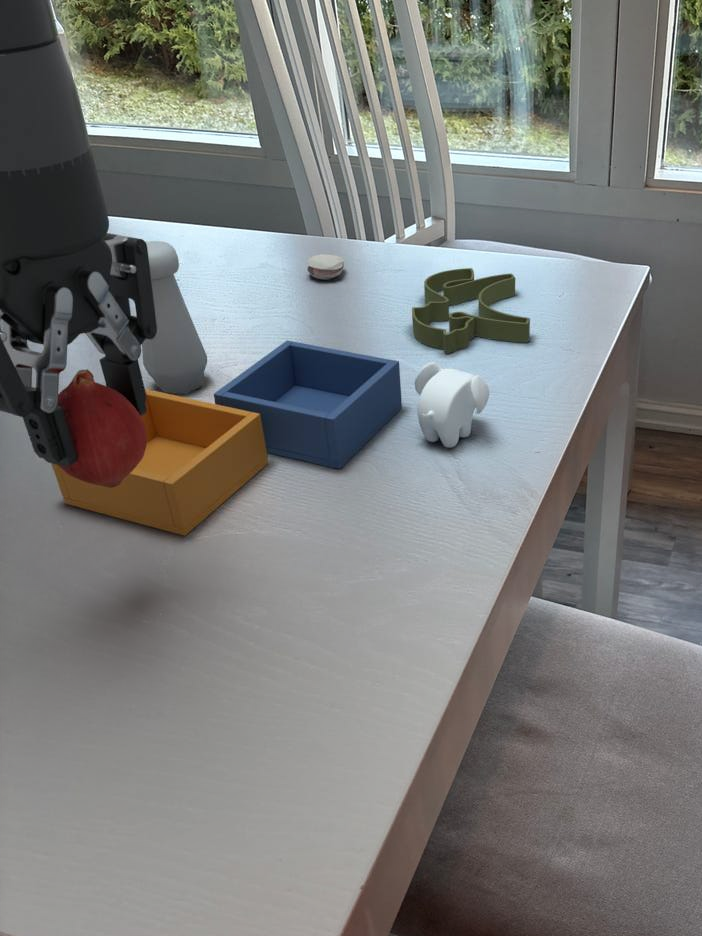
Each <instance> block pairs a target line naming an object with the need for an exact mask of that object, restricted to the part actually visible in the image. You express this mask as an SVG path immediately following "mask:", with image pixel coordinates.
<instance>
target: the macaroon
mask: <svg viewBox="0 0 702 936" xmlns="http://www.w3.org/2000/svg"><path fill="white" fill-rule="evenodd" d="M306 265H307V272H308V273H309V274H310V275H311V276H312V277H313V278H315V279H317V280H318V279H319V280H324V281H325V280H327V281H328V280H331V279H334V278H336V277H338V276H339V275H341V273H342V272H343V270H344V266H345V259H344V257H341V256H339V255H335V254H325V253H319V254H315V255H313V256H312V257H310V258H308V259H307V261H306Z"/></svg>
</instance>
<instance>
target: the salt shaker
mask: <svg viewBox="0 0 702 936" xmlns="http://www.w3.org/2000/svg"><path fill="white" fill-rule="evenodd" d="M145 242H146V244H147V249H148V257H149V265H150V274H151V282H152V291H153V299H154V307H155V316H156V324H157V333H156V336H155V337H154V338H153V339H145V341H144V342H143V343H142V344H141V354H142V364H143V367H144V369H145V371H146V373H147V374H148V375H149V376H150V377H151V379H152V380H153V381H154V383H155V384H156V386H157V387H158V388H159V389H160V390H162V391H163V392H164V393H166V394H171V395H174V394H188V393H190V392H192V391H194V390H196V389H199V388H201V387H202V385H203V380H204V375H205V372H206V368H207V365H208V356H207V355H208V354H207V353H206V349H205V348H204V346H203V343H202V341H201V339H200V336H199V333H198V331H197V329H196V326H195V324H194V322H193V319H192V317H191V314H190V312H189V310H188V307H187V304H186V302H185V299H184V297H183V294H182V291H181V290H180V286H179V284H178V282H177V279H176V276H175V274H176V273H178V271H179V269H180V261H179V257H178V256H179V255H178V253H177V251H176V249H175V248H174V245H171V244H170V243H169V242H166V241H161V240H148V241H145Z"/></svg>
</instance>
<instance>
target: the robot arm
mask: <svg viewBox="0 0 702 936" xmlns="http://www.w3.org/2000/svg"><path fill="white" fill-rule="evenodd" d="M93 153H94V152H93V149H92V145H91V141H90V137H89V132H88V128H87V123H86V120H85V116H84V111H83V107H82V104H81V99H80V95H79V92H78V88H77V85H76V82H75V79H74V76H73V73H72V70H71V68H70V65H69V63H68V60H67V58H66V54H65V52H64V48H63V45H62V42H61V38H60V37H59V31H58V26H57V24H56V20H55V15H54V11H53V6H52V3H51V0H0V321H2V322H3V323H2V324H3V326H2V327H1V326H0V412H2V413H3V412H4V413H6V414H11V415H13V416H17V417H20V418H22V419H23V422H24V426H25V428H26V431H27V435H28V436H29V440H30V443H31V446H32V449H33V452H34V454H35V455H36V456H37V457H38V458H40V459H43V460H44V461H45V462H47V463H50V464H51V463H53V464H56V465H60V466H64V467H69V466H70V465H72V464H73V463H75V462H76V461H77V460H78V457H77V453H76V450H75V447H74V443H73V440H72V437H71V434H70V431H69V427H68V424H67V421H66V418H65V414H64V411H63V408H62V407H59V406H57V405H58V394H59V388H60V387H59V384H60V383H59V382H60V373H62V372H64V371H65V370H66V368H67V364H68V363H67V362H68V345H70V344H71V343H73V342H74V341H75V340H76V339H77V338H78V337H79V336H80V335H82V334H85V335H86V336H87V338H88V339H89V340H90V341H91V343H92V344H93V346H94V347H95V348H96V350H97V351H98V352H99V354H102V355H104V356H103V357H101V358H100V359H99V363H100V367H101V368H100V369H101V371H102V374H103V378H104V382H105V386H107V387H110V388H112V389H114V390H116V391H117V392H119V393H120V394H122V395H123V396H124V397H125V398H126V399H127V400H128V401H129V402H130V403H131V404H132V405H133V406H134V407H135V409H136V410H137V411H138V413H139V414H140V416H142V415H144V414H145V413H146V411H147V409H146V405H145V403H146V391H145V389H146V388H145V384H144V380H143V374H142V371H141V368H140V367H141V366H140V363H139V359H140V357H141V355H142V343H143V342H144V341H145V339H153V338H154V337H155V336H156V333H157V324H156V316H155V307H154V299H153V291H152V282H151V274H150V265H149V257H148V249H147V244H146V242H147V241H145V240H144V239H142V238H138V237H133V236H128V235H127V236H126V235H122V234H121V235H120V234H115V233H109V228H110V219H109V215H108V211H107V207H106V203H105V199H104V194H103V191H102V187H101V182H100V179H99V174H98V169H97V166H96V161H95V156H94V154H93ZM130 300H132V301H133V303H134V307H135V308H134V309H135V315H132V311H131V305H130ZM28 341H29V342H30V343H33V344H38V345H43V349H42V351H41V352H39V351H34V350H32V349H31V348H30V347H29V345H28ZM33 369H34V370H35V387H34V386H32V385H33Z"/></svg>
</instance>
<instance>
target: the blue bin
mask: <svg viewBox="0 0 702 936" xmlns="http://www.w3.org/2000/svg"><path fill="white" fill-rule="evenodd" d="M400 369H401V368H400V361H399V360H394V359H390V358H383V357H378V356H373V355H368V354H362V353H357V352H351V351H347V350H340V349H335V348H330V347H324V346H320V345H314V344H309V343H304V342H298V341H293V340H285V341H284V342H282V343H281V344H280V345H278V346H276V347H275V348H274V349H273V350H271V351H270V352H268V353H267V354H266V355H265V356H263V357H262V358H260V359H259V360H258V361H256V362H255V363H253V365H251V366H250V367H248V368H247V369H245V370H244V371H243V372H242V373H240V374H239V375H237V376H236V377H234V378H233V379H232V380H230V381H229V382H227V383H226V384H225V385H223V386H222V387H221V388H219V389H218V390H217V391H215V392H214V393H213V399H214V404H217V405H222V406H226V407H231V408H235V409H240V410H245V411H249V412H254V413H259V414H260V416H261V422H262V428H263V434H264V439H265V445H266V451H267V454H273V455H277V456H281V457H285V458H289V459H294V460H298V461H304V462H307V463H312V464H314V465H319V466H325V467H327V468H328V467H329V468H334V469H338V470H340V469H341V468H343V466H345V465H346V463H348V461H350V459H352V458H353V457H354V456H355V455H356V454H357V453H358V452H359V451H360V450H361V449H362V448H363V447H364V446H365V445H366V444H367V443H368V442H369V441H370V440H371V439H372V438H373V437H375V436H376V435H377V433H379V431H380V430H382V429H383V427H384V426H386V424H387V423H389V422H390V421H391V420H392V419H393V418H394V417H395V416H396V415H397V414H398V413H399V412H400V411H401V410H402V409H403V406H402V405H403V403H402V402H403V401H402V386H401V370H400Z"/></svg>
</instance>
